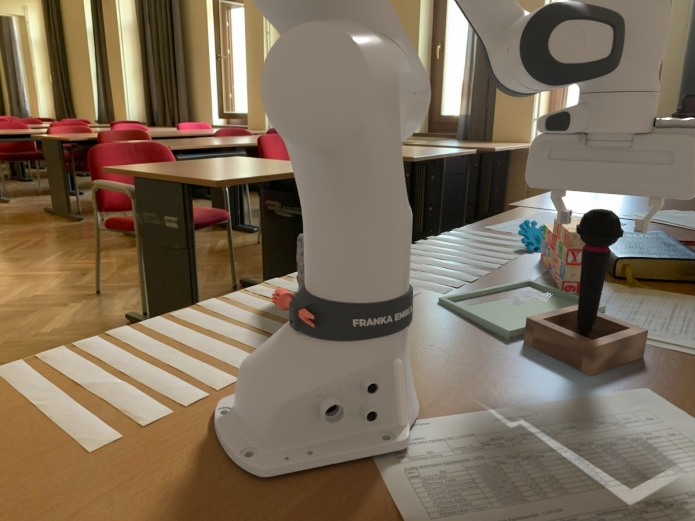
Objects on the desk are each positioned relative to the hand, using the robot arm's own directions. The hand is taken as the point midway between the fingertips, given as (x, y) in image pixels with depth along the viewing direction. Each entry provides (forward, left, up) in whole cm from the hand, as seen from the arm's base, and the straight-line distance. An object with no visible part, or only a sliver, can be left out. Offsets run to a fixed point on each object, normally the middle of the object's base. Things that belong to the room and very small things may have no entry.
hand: (600, 227), depth 67 cm
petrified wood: (-19, +33, -18) cm, 42 cm away
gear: (+36, +38, -19) cm, 55 cm away
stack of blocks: (+25, +23, -18) cm, 39 cm away
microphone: (0, 0, -18) cm, 18 cm away
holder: (0, 0, -18) cm, 18 cm away
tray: (+4, +15, -18) cm, 23 cm away
